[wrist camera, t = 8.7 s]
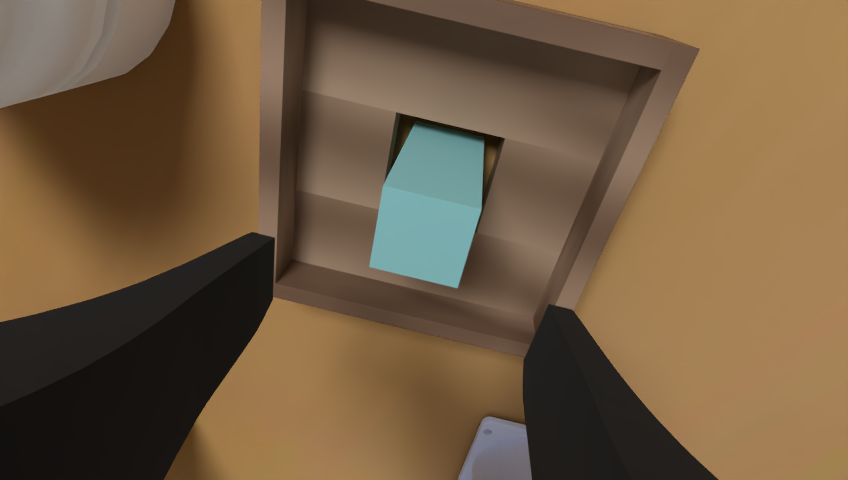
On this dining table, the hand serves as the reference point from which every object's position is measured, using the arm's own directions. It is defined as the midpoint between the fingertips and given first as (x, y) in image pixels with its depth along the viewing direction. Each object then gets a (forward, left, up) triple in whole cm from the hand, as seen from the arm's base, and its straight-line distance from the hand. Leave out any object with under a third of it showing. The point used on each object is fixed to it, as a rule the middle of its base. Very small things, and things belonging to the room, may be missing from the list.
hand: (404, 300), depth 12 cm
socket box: (0, 0, -10) cm, 10 cm away
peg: (0, 0, -10) cm, 10 cm away
